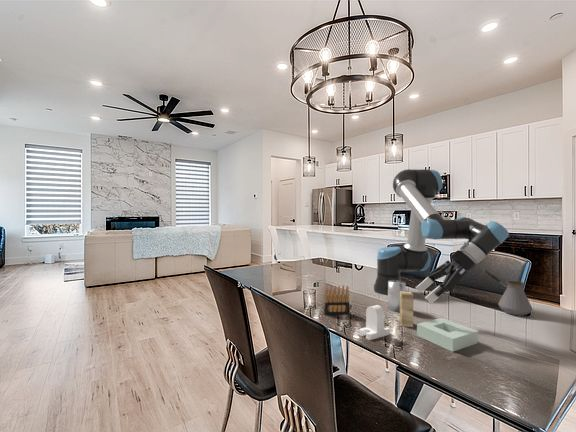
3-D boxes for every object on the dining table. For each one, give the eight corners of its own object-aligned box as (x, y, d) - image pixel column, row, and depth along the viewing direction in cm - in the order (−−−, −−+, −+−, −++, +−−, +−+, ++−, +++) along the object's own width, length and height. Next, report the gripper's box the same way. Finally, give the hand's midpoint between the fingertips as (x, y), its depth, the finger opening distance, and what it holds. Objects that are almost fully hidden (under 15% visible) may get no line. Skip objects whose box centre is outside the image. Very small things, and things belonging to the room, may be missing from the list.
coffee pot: (539, 316, 119) (540, 280, 119) (516, 318, 117) (517, 281, 117) (493, 300, 140) (494, 269, 140) (473, 301, 138) (473, 270, 138)
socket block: (441, 328, 107) (441, 317, 107) (477, 343, 95) (478, 331, 95) (416, 335, 101) (417, 324, 101) (452, 351, 90) (452, 339, 90)
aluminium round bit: (395, 305, 133) (396, 279, 132) (408, 310, 126) (409, 282, 126) (384, 307, 129) (384, 281, 129) (396, 313, 123) (397, 284, 123)
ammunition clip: (348, 312, 123) (348, 284, 123) (349, 314, 121) (350, 285, 121) (323, 313, 123) (323, 285, 122) (324, 314, 121) (324, 286, 120)
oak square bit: (399, 322, 113) (400, 291, 113) (410, 322, 112) (411, 292, 112) (401, 326, 109) (402, 294, 109) (412, 326, 108) (413, 295, 108)
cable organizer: (390, 334, 102) (390, 306, 102) (369, 340, 97) (369, 310, 97) (379, 328, 107) (379, 301, 107) (358, 334, 102) (358, 306, 102)
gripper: (447, 245, 119) (408, 280, 122) (474, 254, 94) (424, 297, 97) (461, 258, 118) (421, 293, 121) (492, 271, 93) (441, 314, 97)
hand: (422, 295), depth 109 cm, fingers open, 13 cm apart
